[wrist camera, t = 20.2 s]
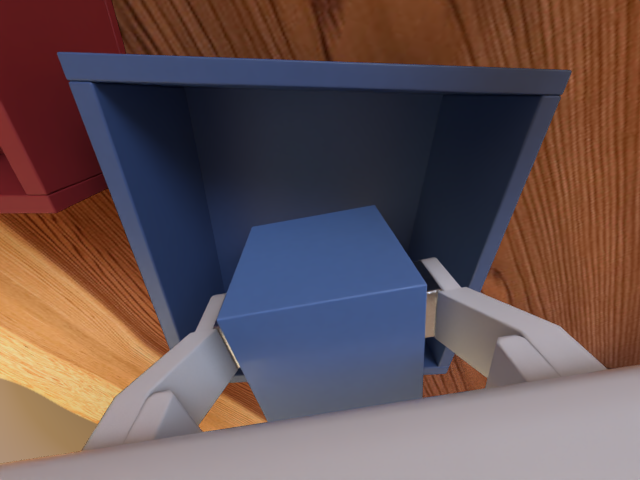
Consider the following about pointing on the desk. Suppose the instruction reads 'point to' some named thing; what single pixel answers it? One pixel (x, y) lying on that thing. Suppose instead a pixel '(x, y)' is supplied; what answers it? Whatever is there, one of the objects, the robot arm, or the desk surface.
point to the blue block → (326, 315)
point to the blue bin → (306, 159)
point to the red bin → (48, 102)
